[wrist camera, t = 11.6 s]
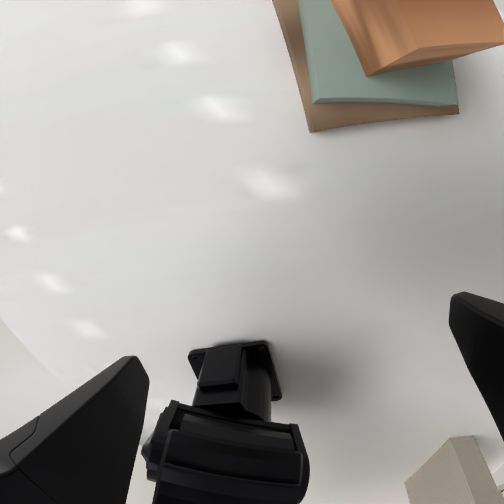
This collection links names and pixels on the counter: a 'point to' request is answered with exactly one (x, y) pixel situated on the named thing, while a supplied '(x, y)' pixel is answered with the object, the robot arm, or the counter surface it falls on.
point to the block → (418, 31)
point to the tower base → (338, 113)
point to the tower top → (351, 72)
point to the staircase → (455, 477)
